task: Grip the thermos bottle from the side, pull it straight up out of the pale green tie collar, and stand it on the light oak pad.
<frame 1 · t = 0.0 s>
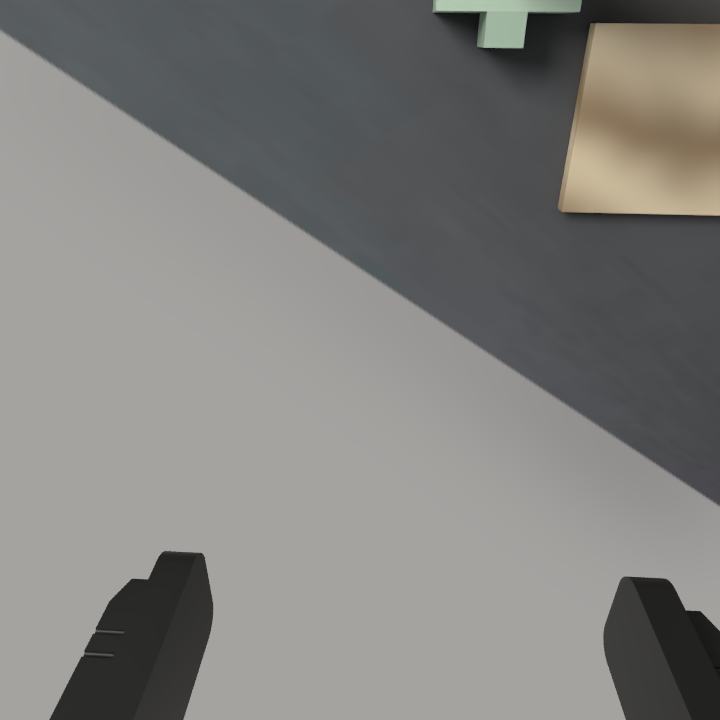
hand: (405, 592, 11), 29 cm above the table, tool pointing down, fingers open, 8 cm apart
oak pad: (660, 123, 33), on the table
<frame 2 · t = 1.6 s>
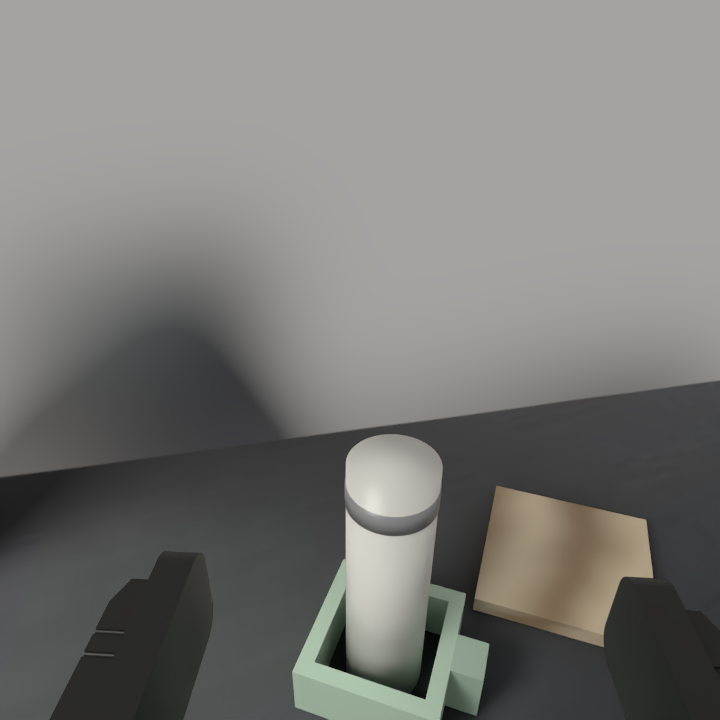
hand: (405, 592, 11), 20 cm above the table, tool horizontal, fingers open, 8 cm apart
tie collar: (383, 665, 31), on the table
oak pad: (563, 567, 37), on the table
thermos bottle: (383, 665, 31), resting in tie collar
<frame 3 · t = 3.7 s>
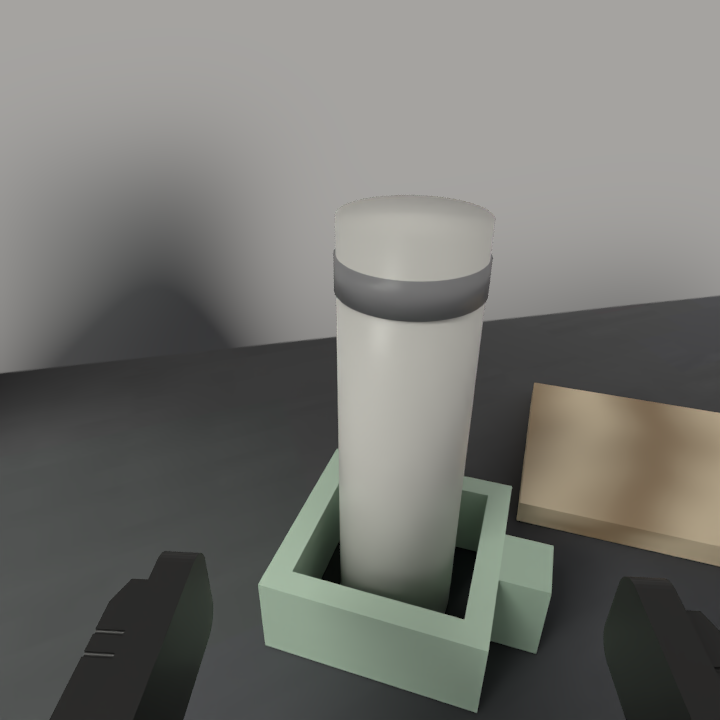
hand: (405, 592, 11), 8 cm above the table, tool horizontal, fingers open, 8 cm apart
tie collar: (394, 589, 21), on the table
oak pad: (633, 471, 27), on the table
thermos bottle: (394, 589, 21), resting in tie collar
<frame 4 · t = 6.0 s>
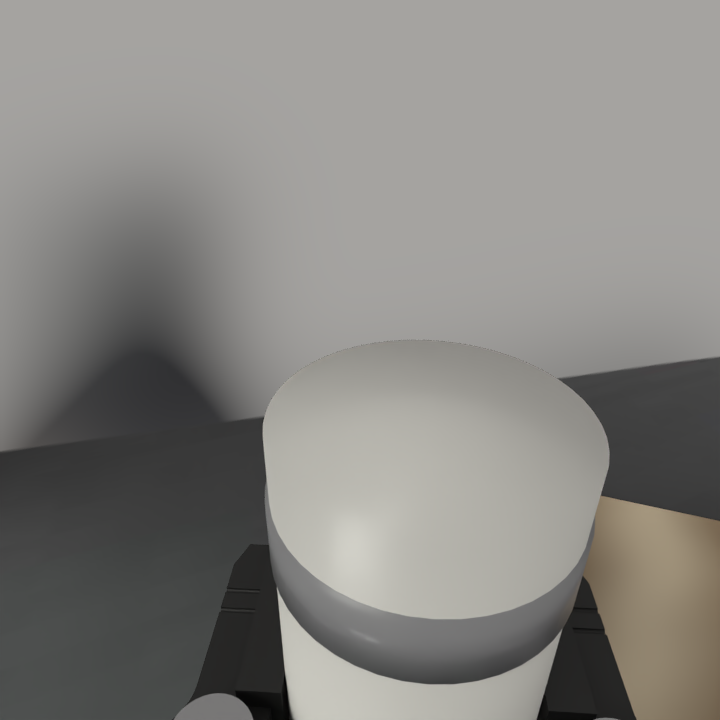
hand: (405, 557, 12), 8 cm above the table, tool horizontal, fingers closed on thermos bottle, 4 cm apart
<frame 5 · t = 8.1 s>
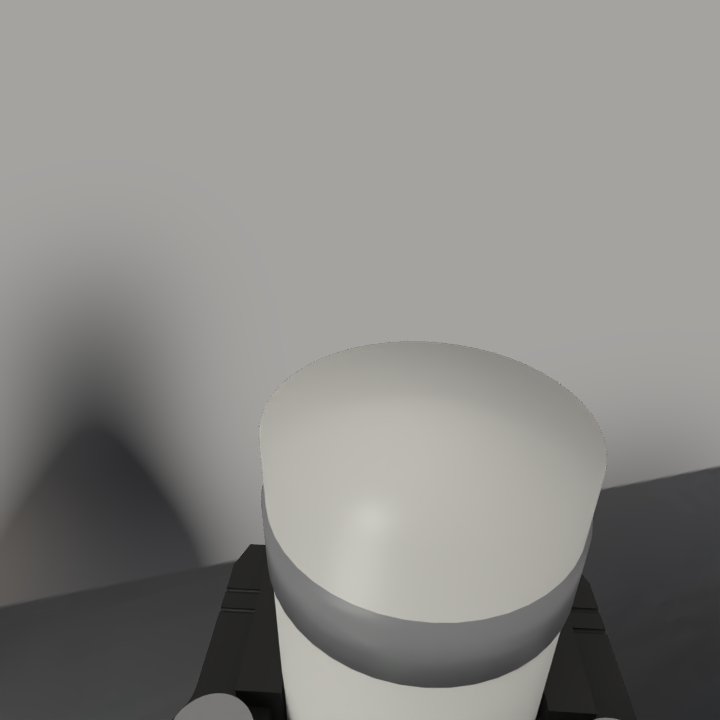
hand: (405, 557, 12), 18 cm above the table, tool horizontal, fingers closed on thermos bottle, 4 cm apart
when the fingers open (10 cm above the table, at t = 10.3 s): thermos bottle stays where it is, resting on oak pad.
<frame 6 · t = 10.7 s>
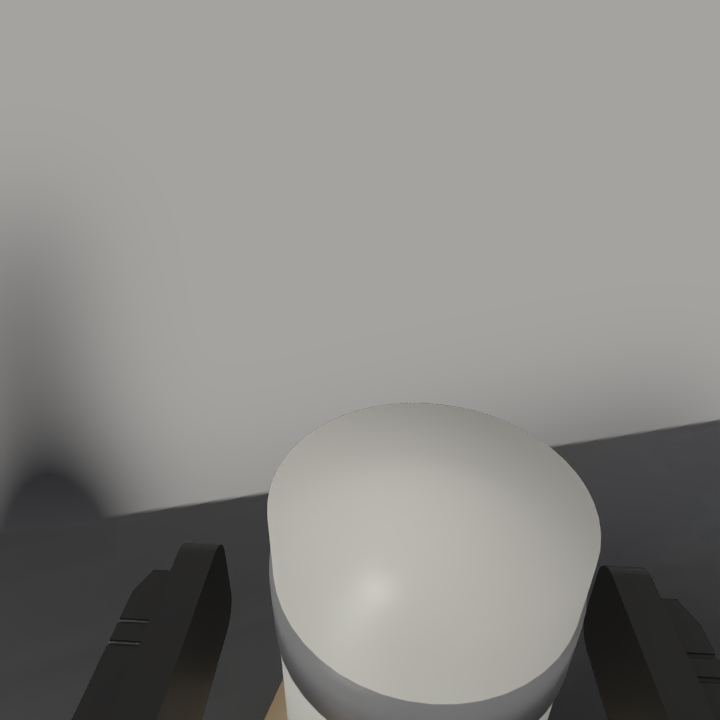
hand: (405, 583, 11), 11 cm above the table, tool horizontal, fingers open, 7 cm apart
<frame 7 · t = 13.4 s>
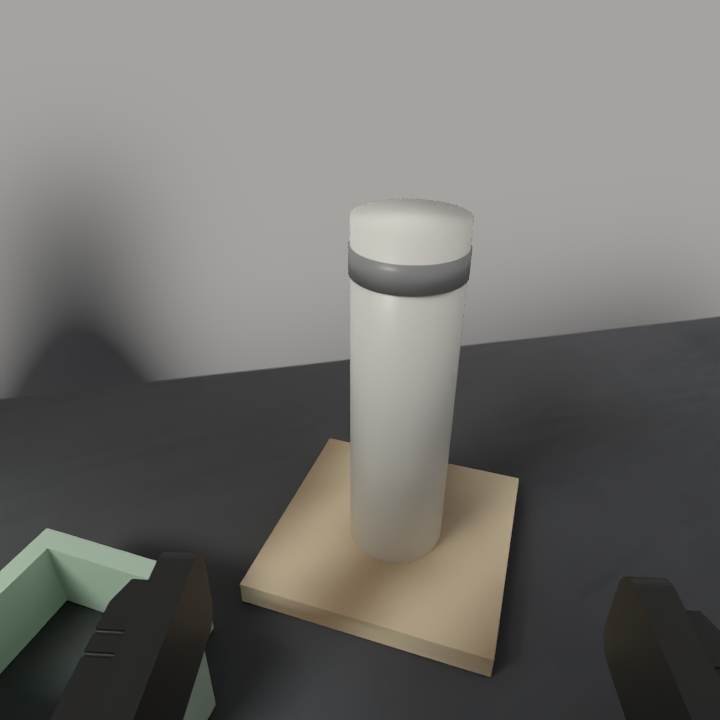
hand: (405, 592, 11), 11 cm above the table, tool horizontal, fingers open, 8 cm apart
tie collar: (72, 684, 20), on the table
oak pad: (393, 541, 26), on the table
thermos bottle: (395, 527, 26), point 1 cm above the table, touching oak pad
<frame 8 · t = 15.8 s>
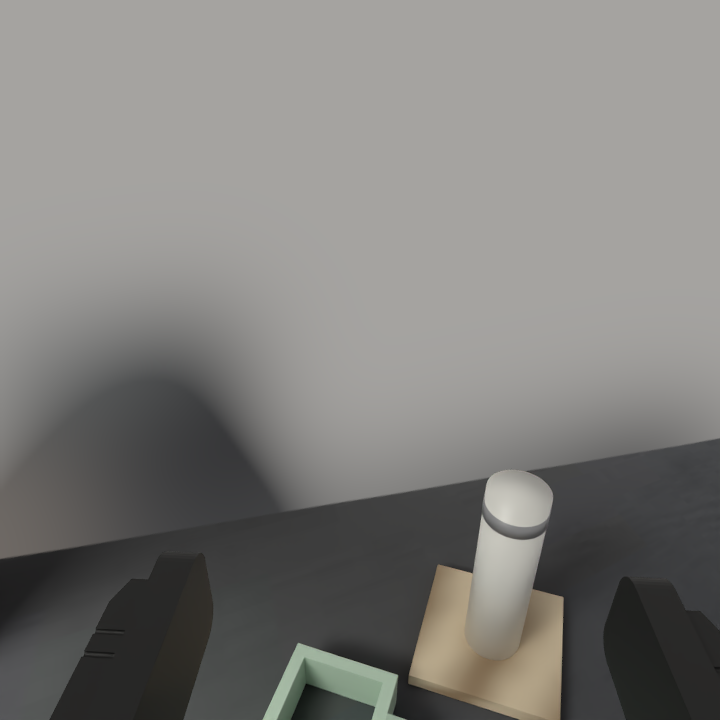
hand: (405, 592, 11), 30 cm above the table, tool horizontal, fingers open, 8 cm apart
oak pad: (489, 642, 43), on the table
thermos bottle: (491, 634, 42), point 1 cm above the table, touching oak pad
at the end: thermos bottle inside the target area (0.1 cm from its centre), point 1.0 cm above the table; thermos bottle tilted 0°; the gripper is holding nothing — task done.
